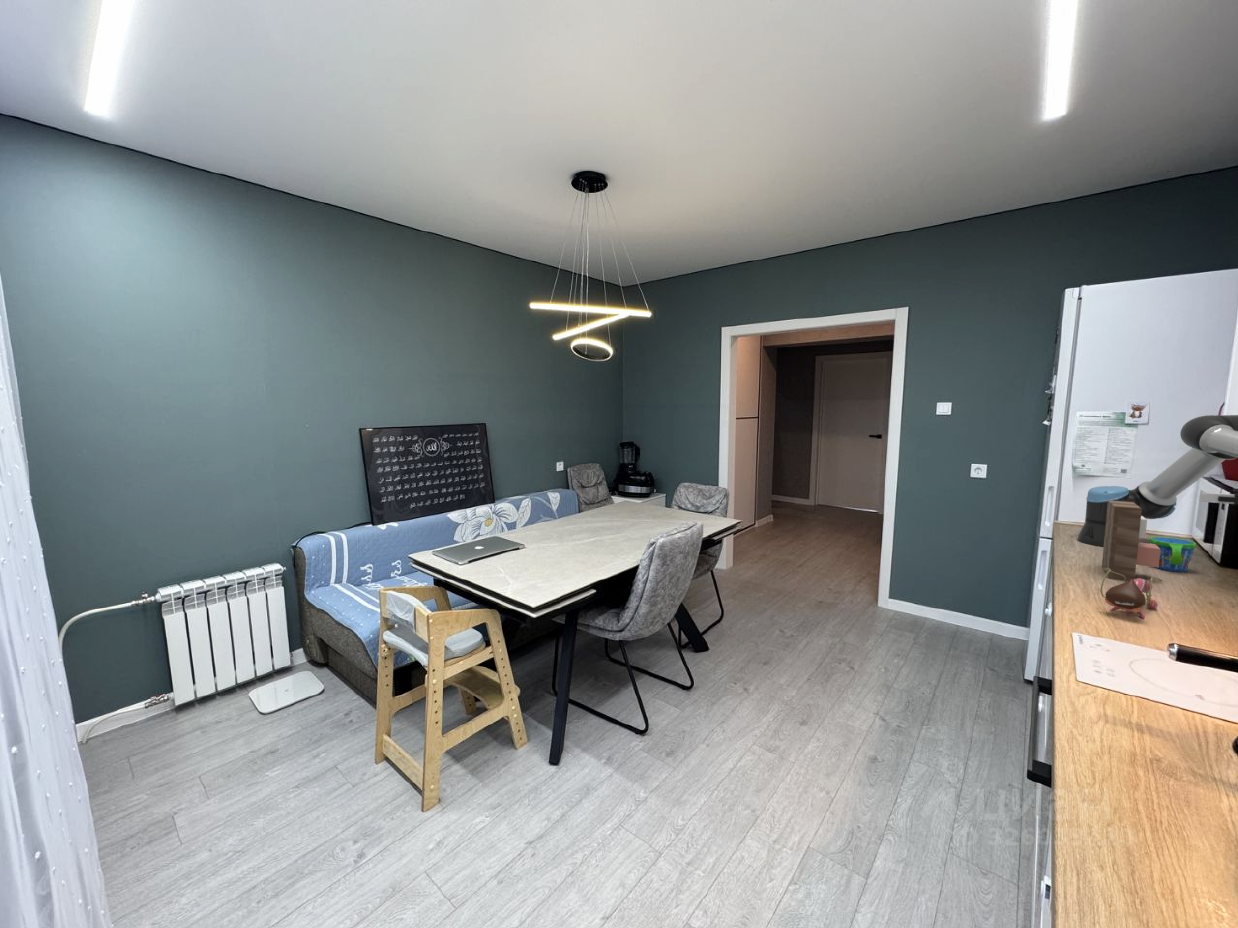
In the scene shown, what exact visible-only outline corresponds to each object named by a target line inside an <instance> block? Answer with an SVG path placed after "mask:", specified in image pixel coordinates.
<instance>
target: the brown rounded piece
mask: <svg viewBox="0 0 1238 928" xmlns="http://www.w3.org/2000/svg"><path fill="white" fill-rule="evenodd" d="M1106 569H1109V568H1103V569H1102V571H1103V570H1106ZM1106 571H1108V572H1107V574H1105V575H1104V577H1103V579H1102V582H1101V585H1100V595H1101V596H1102V597H1103V598H1104V601H1105V602H1106V604H1107V605H1109V606H1111V607H1112V608H1111V609H1110V611H1113V612H1114V611H1119V610H1123V611H1125V612H1126V613H1129V614H1134V613H1135V612H1136V613H1137V615H1138V616H1139V617H1141V618H1142V619H1143V620H1145V618H1146V615H1145V614H1144V611H1143V608H1144V607H1147V608H1148V609H1151V610H1152V609H1153V610H1156V609H1158V606H1159V603H1158V601H1157V600H1156V599H1154V598H1152V596H1153V595H1152V590H1153V582H1162V581H1163V580H1162V579H1160V578H1159V577H1155V576H1152V577H1151V578H1150V579H1144V578H1139V577H1138V578H1135V579H1134V580H1133V579H1131V580H1129V581H1126V577H1125V576H1124V575H1122V574H1119V573H1116V572H1113V571H1111V569H1109V570H1106ZM1109 572H1112V573H1115V574H1118V575H1121V576H1123V577H1124V580H1125V581H1124V582H1123V583H1120V584H1118V585H1117V584H1116V585H1114V586H1112V587H1109V588H1108V590H1107V591H1106V592H1105V595H1104V594H1103V586H1104V583H1105V579H1106V578H1107V575H1108V573H1109ZM1144 593H1145V594H1144Z"/></svg>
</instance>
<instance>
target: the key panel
mask: <svg viewBox="0 0 1238 928" xmlns="http://www.w3.org/2000/svg"><path fill="white" fill-rule="evenodd" d="M1141 511H1142V508H1140V507H1139V506H1138V505H1136V504H1135V503H1134V502H1127V501H1113V500H1108V504H1107V515H1106V526H1105V537H1104V547H1103V550H1102V560H1101V569H1102V571H1103V572H1104V574H1105V575H1106V574H1107V572H1108V571H1106V570H1109V569H1111V571H1113V572H1116V573H1119V574H1122V575H1124V576H1125V577H1126V582H1127V581H1129V580H1131V579H1133V580H1134V579H1136V570H1137V565H1136V562H1137V552H1138V542H1139V540H1140V538H1139V531H1140V521H1141ZM1139 543H1140V542H1139ZM1103 568H1109V569H1106V570H1103ZM1106 578H1107V579H1108V580H1109V579H1110V580H1116V581H1123V582H1125V580H1124V577H1123V576H1121V575H1118V574H1115V573H1112V572H1109V573H1108V575H1107V576H1106Z"/></svg>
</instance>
